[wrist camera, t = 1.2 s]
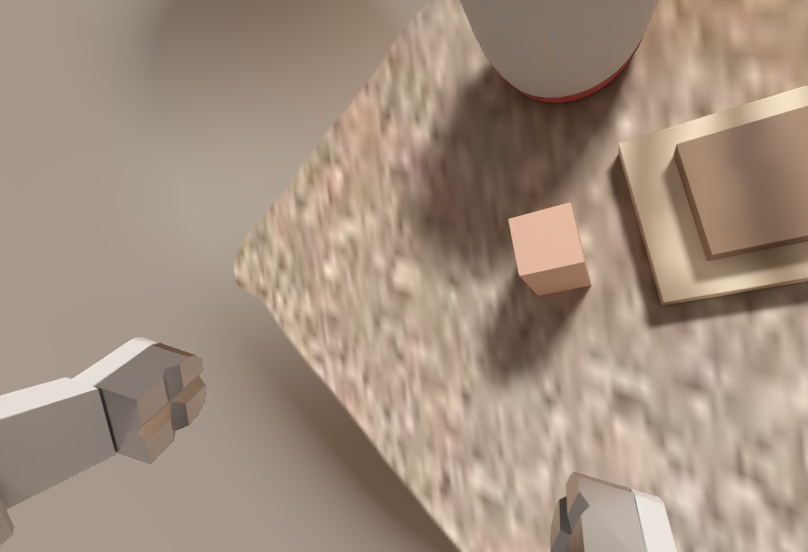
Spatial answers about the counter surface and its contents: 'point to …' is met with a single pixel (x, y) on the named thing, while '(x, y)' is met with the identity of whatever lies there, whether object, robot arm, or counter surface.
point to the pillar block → (549, 250)
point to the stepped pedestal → (724, 199)
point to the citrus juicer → (559, 42)
